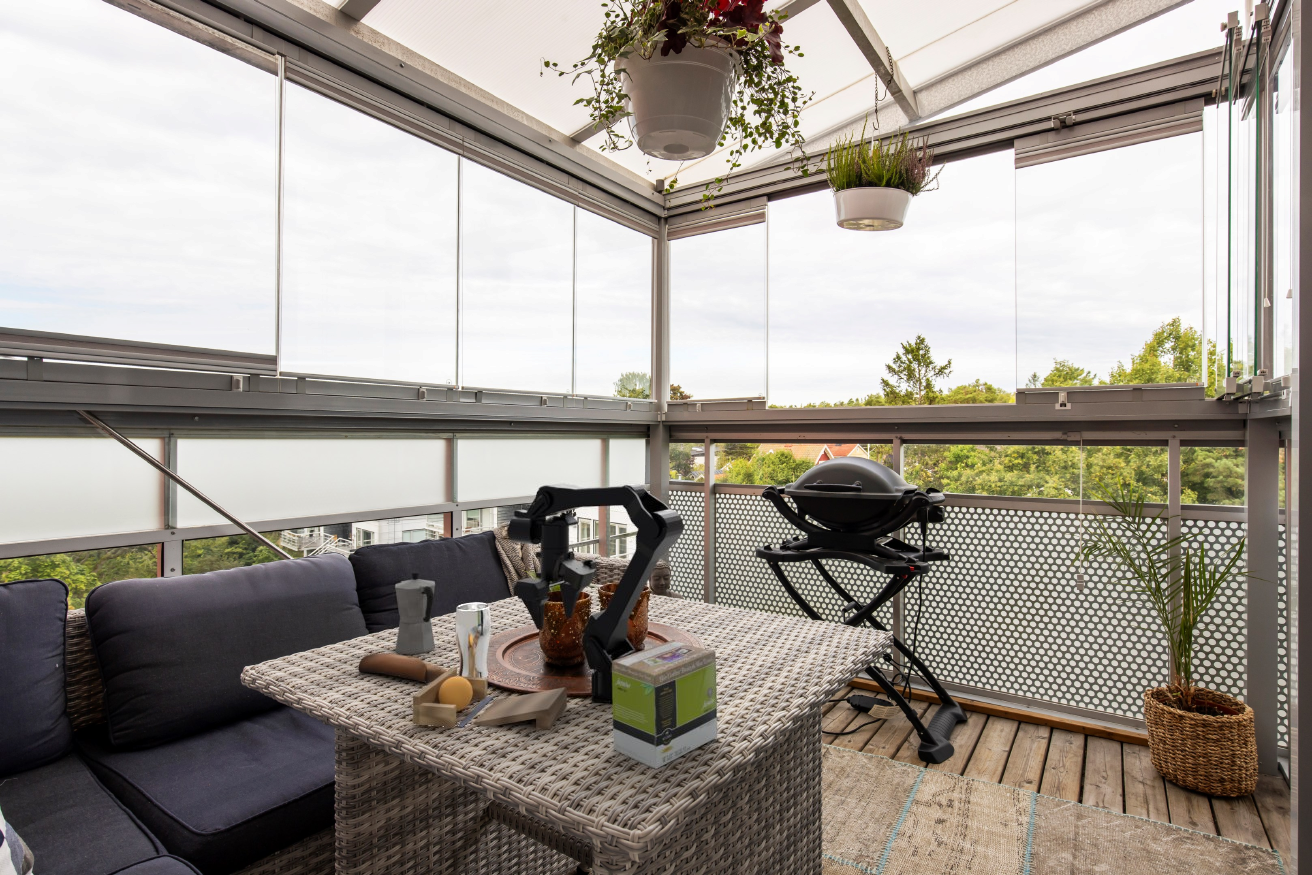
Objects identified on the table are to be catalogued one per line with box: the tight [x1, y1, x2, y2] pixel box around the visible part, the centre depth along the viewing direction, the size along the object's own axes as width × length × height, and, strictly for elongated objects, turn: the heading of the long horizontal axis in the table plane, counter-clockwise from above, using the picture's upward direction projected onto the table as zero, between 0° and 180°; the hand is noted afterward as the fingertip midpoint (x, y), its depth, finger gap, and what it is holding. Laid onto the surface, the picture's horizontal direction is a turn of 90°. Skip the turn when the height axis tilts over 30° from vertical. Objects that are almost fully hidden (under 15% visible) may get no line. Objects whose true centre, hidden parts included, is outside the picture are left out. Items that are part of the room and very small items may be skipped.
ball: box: [438, 675, 473, 712], centre depth 126 cm, size 6×6×6 cm
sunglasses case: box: [358, 652, 448, 685], centre depth 145 cm, size 18×7×7 cm
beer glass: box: [454, 602, 492, 678], centre depth 141 cm, size 7×7×15 cm
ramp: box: [473, 686, 568, 731], centre depth 124 cm, size 14×10×5 cm
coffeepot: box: [394, 570, 436, 655], centre depth 160 cm, size 15×9×18 cm, turn 43°
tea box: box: [612, 639, 718, 770], centre depth 112 cm, size 15×10×15 cm, turn 136°
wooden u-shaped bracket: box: [412, 667, 494, 728], centre depth 126 cm, size 9×14×5 cm, turn 170°
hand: (554, 623), depth 139 cm, fingers open, 9 cm apart
